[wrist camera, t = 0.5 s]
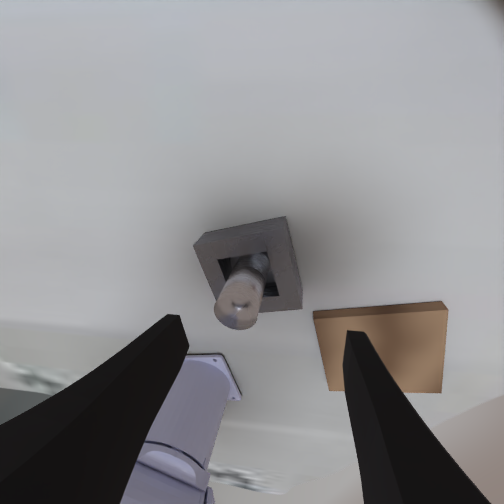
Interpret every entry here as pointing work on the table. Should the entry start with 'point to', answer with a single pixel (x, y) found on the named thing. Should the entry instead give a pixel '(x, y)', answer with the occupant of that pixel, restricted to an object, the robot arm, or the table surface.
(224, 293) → the silver metal cylinder
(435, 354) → the pad
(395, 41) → the table surface
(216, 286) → the chuck block
